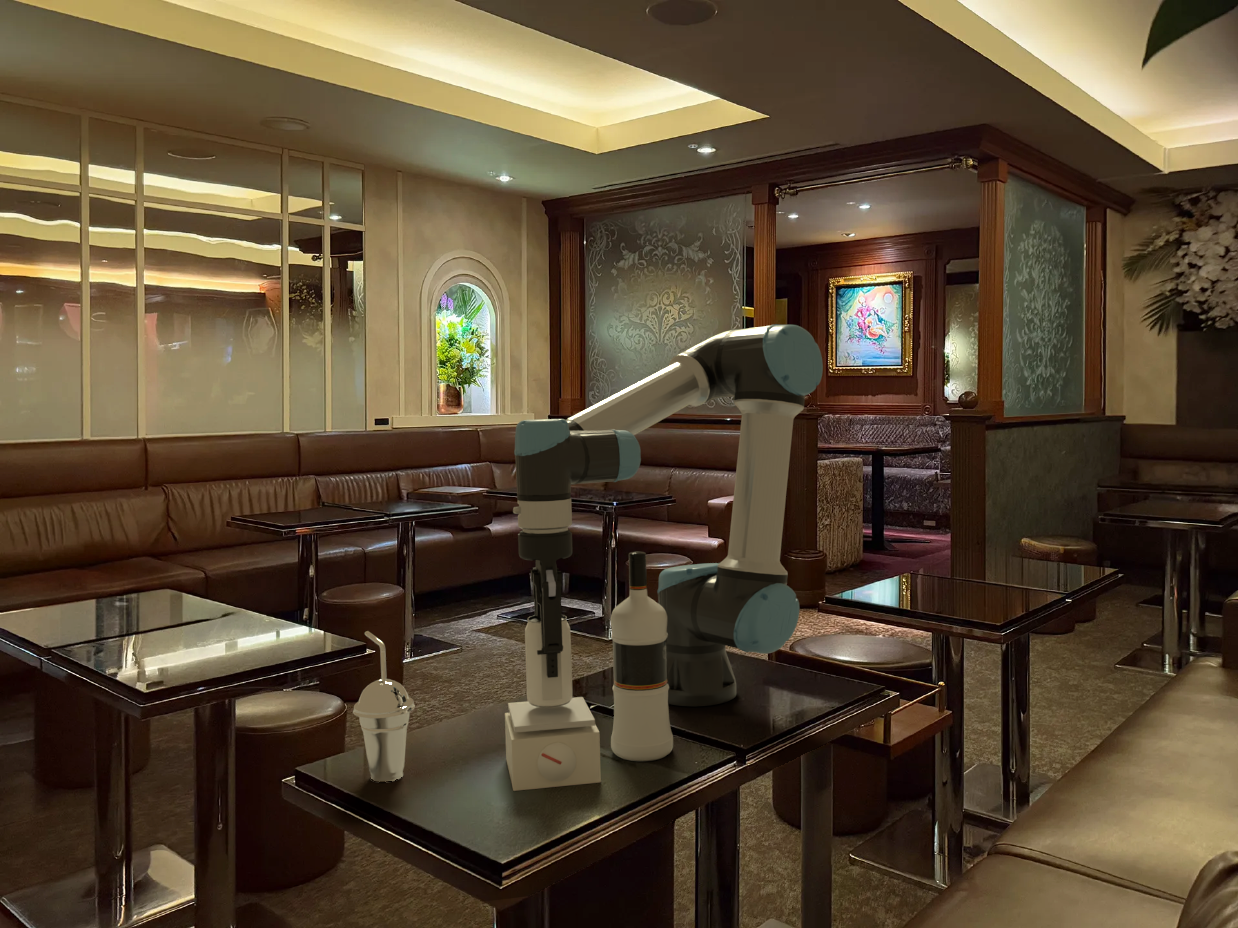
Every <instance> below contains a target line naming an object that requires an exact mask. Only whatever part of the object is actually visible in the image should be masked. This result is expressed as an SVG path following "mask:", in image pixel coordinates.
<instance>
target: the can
mask: <svg viewBox="0 0 1238 928" xmlns="http://www.w3.org/2000/svg"><path fill="white" fill-rule="evenodd" d="M561 615H562V645H563V651H562V652H561V675H562V699H553V700H543V699H542V676H541V655H537V650H542V635H541V619H537V615H535V614H534V615H532V616H529V617H527V624H526V626H525V628H524V649H525V650H524V651H525V675H526V677H525V678H526V679H525V681H526V699H527V700H526V701H528V702H529V703H530V704H531V705H533V706H536V707H558V706H562V705H565V704H568V703H569V702H570V700H571V699H572V698H573V671H572V669H573V668H572V666H573V665H572V663H573V662H572V642H571V640H572V639H571V638H572V637H571V627H570V624H569V623H568V621H567V619H568V617H567V616H566V615H565V614H561Z"/></svg>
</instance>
